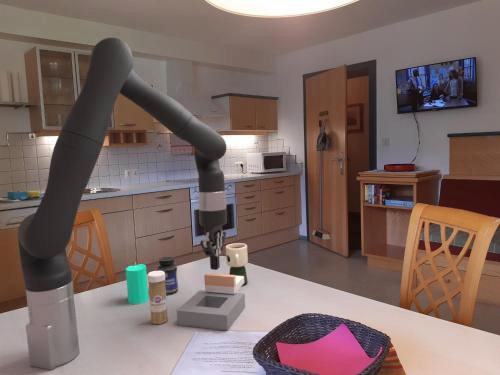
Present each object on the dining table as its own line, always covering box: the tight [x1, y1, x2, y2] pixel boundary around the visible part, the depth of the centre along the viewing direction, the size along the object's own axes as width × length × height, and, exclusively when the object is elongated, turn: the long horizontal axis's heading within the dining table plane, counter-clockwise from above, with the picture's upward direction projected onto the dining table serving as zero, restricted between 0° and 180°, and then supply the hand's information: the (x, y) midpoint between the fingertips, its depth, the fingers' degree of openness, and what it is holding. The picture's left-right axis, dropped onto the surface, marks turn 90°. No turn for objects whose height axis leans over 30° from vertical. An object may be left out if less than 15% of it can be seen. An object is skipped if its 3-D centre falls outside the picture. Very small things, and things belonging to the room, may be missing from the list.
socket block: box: [176, 289, 246, 331], centre depth 104 cm, size 14×14×4 cm
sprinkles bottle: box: [147, 270, 169, 325], centre depth 101 cm, size 5×5×13 cm
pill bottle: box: [157, 256, 179, 296], centre depth 122 cm, size 6×6×11 cm
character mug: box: [225, 242, 249, 284], centre depth 126 cm, size 11×7×13 cm, turn 2°
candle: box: [125, 262, 149, 305], centre depth 116 cm, size 6×6×12 cm
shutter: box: [203, 272, 245, 294], centre depth 113 cm, size 9×9×5 cm
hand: (215, 268), depth 106 cm, fingers closed
